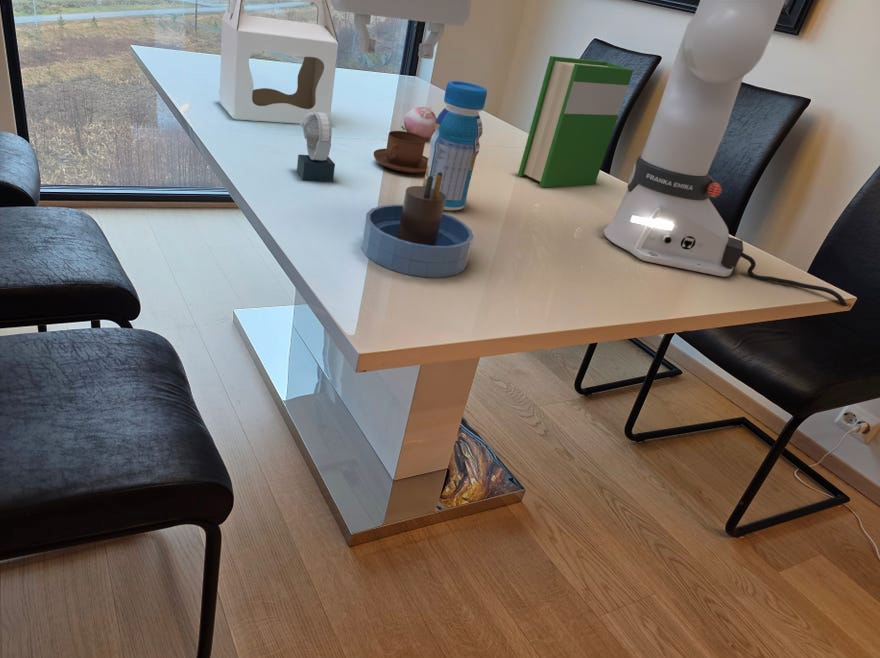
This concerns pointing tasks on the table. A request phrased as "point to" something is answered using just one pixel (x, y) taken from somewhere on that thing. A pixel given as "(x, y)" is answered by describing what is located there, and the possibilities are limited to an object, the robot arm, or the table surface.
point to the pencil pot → (422, 213)
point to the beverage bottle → (456, 141)
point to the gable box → (281, 37)
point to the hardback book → (573, 121)
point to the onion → (420, 122)
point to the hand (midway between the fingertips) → (396, 55)
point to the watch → (316, 148)
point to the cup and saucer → (403, 152)
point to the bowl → (415, 245)
